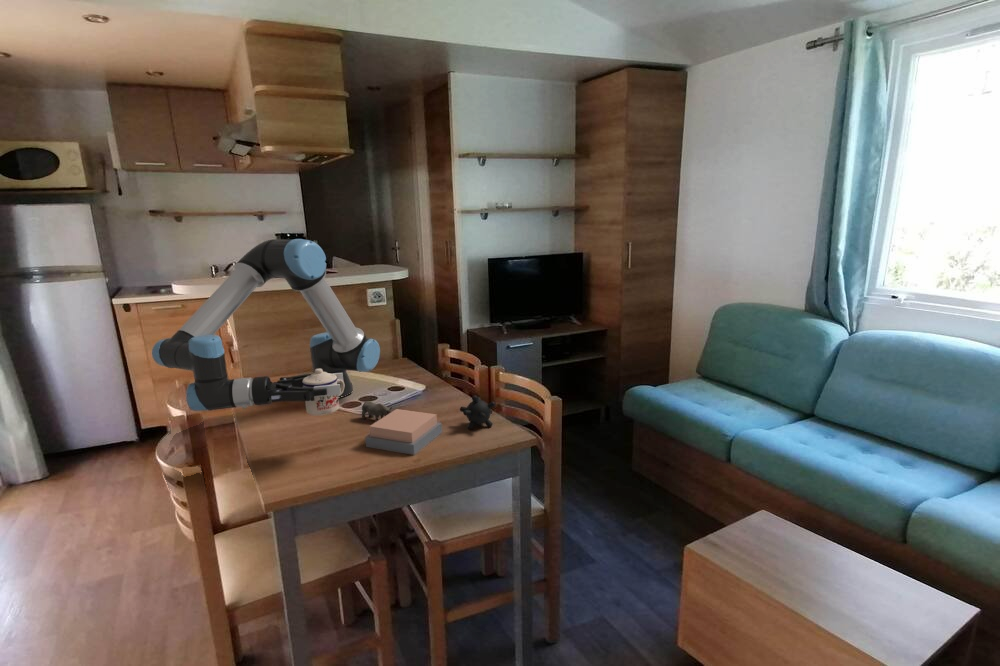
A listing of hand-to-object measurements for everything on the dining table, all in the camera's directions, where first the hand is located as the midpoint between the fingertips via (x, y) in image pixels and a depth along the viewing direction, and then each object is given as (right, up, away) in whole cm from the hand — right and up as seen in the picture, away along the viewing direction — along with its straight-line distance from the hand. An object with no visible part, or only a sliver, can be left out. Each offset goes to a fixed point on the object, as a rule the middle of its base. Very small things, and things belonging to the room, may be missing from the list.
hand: (341, 383), depth 144 cm
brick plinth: (+15, -17, +11) cm, 26 cm away
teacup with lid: (-4, -7, +1) cm, 8 cm away
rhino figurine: (+5, -15, +25) cm, 30 cm away
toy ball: (+36, -15, +19) cm, 44 cm away
